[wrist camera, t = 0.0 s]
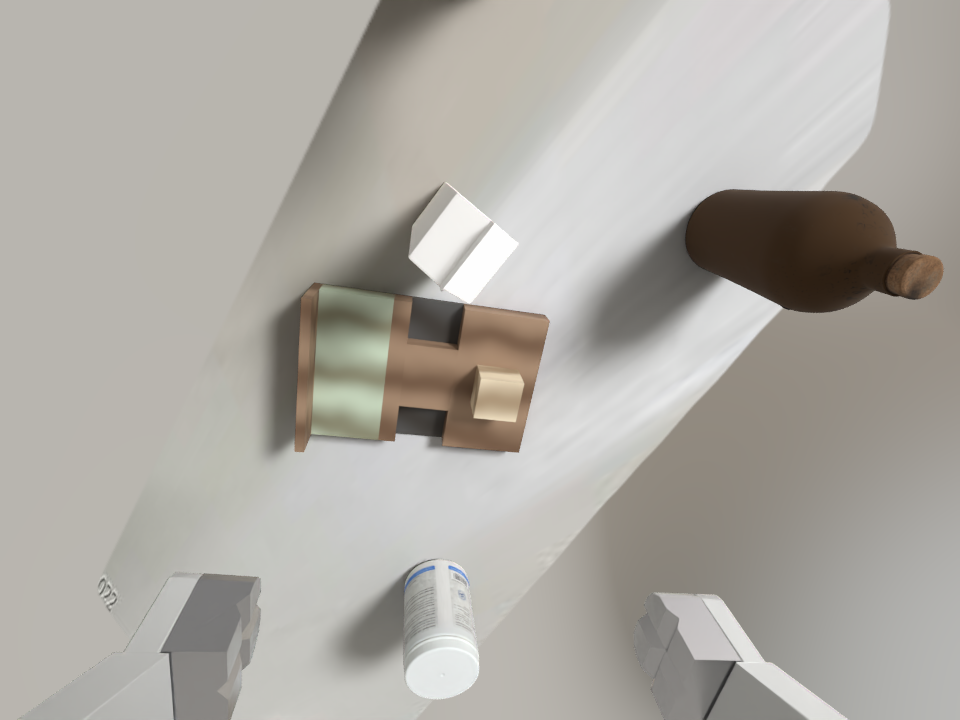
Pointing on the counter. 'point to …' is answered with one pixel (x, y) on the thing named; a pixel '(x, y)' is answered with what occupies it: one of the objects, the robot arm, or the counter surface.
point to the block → (496, 393)
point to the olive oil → (806, 248)
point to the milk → (458, 244)
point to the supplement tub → (439, 631)
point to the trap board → (408, 366)
